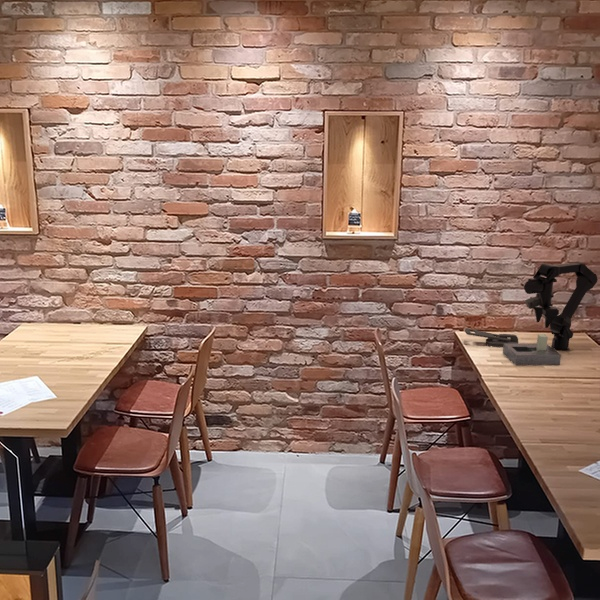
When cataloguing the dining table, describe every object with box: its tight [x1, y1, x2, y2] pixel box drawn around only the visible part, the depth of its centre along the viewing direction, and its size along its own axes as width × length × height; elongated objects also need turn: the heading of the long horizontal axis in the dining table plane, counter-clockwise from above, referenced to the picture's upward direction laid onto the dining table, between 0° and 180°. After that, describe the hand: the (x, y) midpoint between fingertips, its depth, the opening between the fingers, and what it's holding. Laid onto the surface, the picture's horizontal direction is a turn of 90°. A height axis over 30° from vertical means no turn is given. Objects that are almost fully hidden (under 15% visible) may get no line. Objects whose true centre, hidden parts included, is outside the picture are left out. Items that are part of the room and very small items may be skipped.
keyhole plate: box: [502, 342, 562, 366], centre depth 323 cm, size 20×16×5 cm
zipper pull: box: [464, 327, 519, 348], centre depth 342 cm, size 9×7×25 cm
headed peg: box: [536, 333, 549, 351], centre depth 323 cm, size 5×5×10 cm
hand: (542, 325), depth 331 cm, fingers open, 9 cm apart
